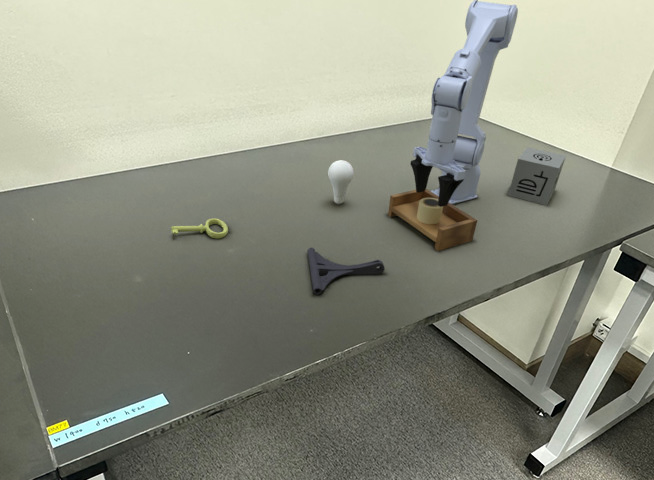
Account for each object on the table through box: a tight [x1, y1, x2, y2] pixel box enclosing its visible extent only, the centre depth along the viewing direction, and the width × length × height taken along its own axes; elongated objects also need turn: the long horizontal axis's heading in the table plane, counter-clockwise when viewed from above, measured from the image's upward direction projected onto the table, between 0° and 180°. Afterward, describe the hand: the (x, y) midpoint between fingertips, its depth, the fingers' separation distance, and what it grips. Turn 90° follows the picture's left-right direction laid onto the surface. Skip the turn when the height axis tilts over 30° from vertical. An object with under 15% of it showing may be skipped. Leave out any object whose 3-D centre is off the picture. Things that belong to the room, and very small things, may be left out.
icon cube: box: [507, 146, 567, 206], centre depth 138 cm, size 10×10×10 cm
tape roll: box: [417, 198, 443, 224], centre depth 120 cm, size 5×5×4 cm
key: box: [170, 217, 229, 239], centre depth 116 cm, size 7×12×2 cm, turn 126°
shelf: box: [387, 188, 478, 252], centre depth 122 cm, size 10×18×5 cm, turn 31°
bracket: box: [307, 247, 385, 296], centre depth 106 cm, size 14×15×3 cm
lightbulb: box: [327, 159, 355, 205], centre depth 128 cm, size 6×6×11 cm
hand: (431, 198), depth 118 cm, fingers open, 7 cm apart
